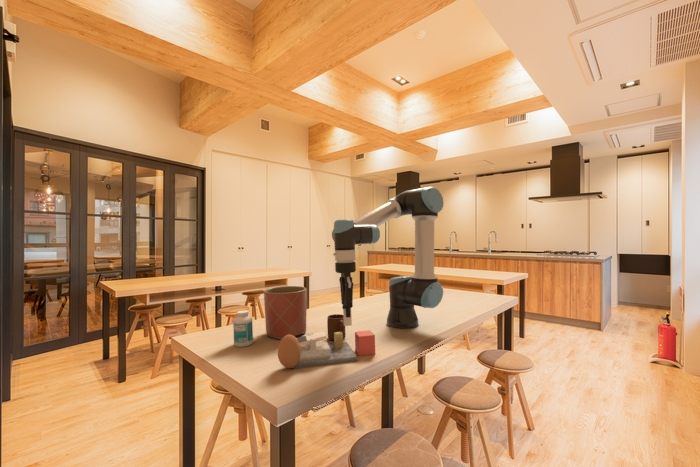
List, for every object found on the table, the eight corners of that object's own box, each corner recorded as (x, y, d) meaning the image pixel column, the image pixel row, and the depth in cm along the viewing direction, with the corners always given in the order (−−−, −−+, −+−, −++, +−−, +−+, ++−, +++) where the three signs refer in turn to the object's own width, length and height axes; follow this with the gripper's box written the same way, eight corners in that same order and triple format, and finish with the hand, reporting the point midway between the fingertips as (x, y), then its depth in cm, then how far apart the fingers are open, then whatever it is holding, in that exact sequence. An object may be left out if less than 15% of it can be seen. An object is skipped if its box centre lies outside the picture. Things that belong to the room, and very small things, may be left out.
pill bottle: (247, 340, 136) (247, 308, 136) (256, 344, 130) (255, 311, 131) (230, 344, 130) (230, 311, 131) (238, 348, 125) (238, 314, 125)
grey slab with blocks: (346, 345, 126) (346, 325, 126) (357, 360, 111) (356, 337, 111) (290, 351, 121) (289, 330, 121) (293, 368, 105) (292, 344, 105)
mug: (352, 342, 129) (351, 319, 129) (334, 345, 126) (334, 322, 126) (341, 334, 140) (341, 313, 140) (325, 337, 137) (324, 315, 137)
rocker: (324, 334, 117) (323, 330, 117) (326, 339, 111) (326, 335, 111) (297, 341, 114) (296, 337, 114) (298, 346, 109) (297, 342, 109)
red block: (370, 348, 122) (369, 330, 122) (375, 354, 116) (374, 334, 116) (355, 350, 121) (354, 331, 121) (359, 355, 115) (359, 336, 115)
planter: (277, 343, 130) (276, 295, 131) (257, 333, 145) (256, 289, 145) (315, 333, 143) (314, 289, 143) (293, 325, 157) (292, 284, 157)
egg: (300, 371, 102) (299, 337, 102) (276, 373, 101) (275, 339, 102) (302, 362, 110) (301, 330, 110) (279, 363, 109) (279, 331, 109)
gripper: (332, 260, 122) (334, 321, 123) (338, 263, 110) (341, 331, 110) (351, 259, 124) (353, 319, 124) (359, 262, 111) (362, 329, 112)
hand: (347, 325), depth 117 cm, fingers closed
